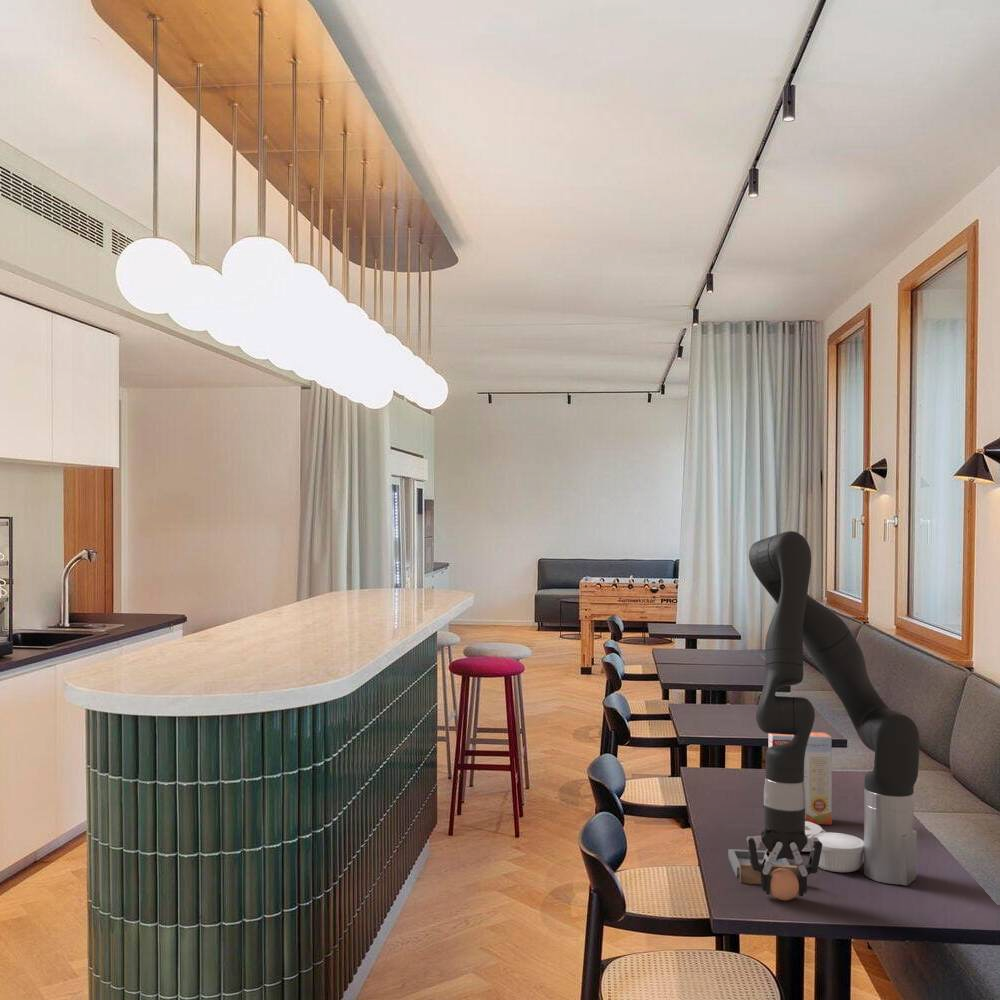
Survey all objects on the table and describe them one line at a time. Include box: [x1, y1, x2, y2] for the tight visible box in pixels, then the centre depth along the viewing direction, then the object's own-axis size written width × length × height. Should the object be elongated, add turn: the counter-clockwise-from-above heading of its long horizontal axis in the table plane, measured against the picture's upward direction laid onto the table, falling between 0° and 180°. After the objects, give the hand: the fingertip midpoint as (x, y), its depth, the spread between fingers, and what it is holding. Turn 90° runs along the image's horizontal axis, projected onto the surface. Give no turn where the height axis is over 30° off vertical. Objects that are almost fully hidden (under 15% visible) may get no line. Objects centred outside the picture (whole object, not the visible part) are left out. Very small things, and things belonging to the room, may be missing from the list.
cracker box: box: [767, 731, 833, 826], centre depth 230 cm, size 14×6×21 cm, turn 84°
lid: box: [801, 821, 827, 852], centre depth 212 cm, size 13×13×5 cm
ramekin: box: [808, 832, 864, 873], centre depth 199 cm, size 11×11×5 cm
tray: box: [727, 848, 791, 879], centre depth 196 cm, size 11×11×2 cm
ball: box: [770, 868, 799, 901], centre depth 180 cm, size 6×6×6 cm
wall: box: [739, 863, 799, 885], centre depth 188 cm, size 12×1×4 cm, turn 85°
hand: (783, 893), depth 180 cm, fingers closed on ball, 5 cm apart
